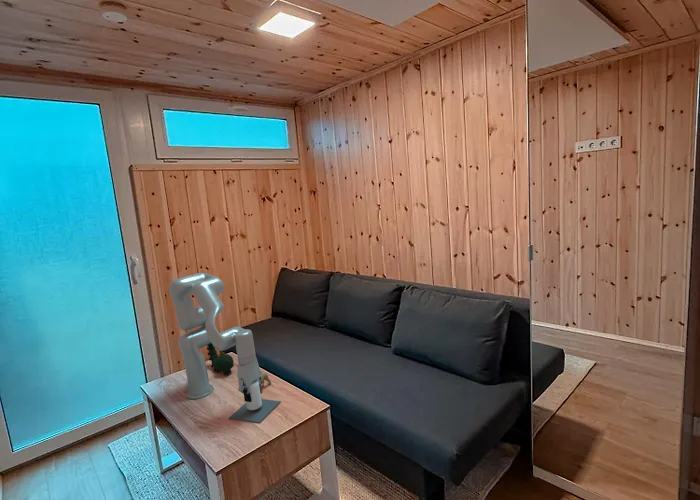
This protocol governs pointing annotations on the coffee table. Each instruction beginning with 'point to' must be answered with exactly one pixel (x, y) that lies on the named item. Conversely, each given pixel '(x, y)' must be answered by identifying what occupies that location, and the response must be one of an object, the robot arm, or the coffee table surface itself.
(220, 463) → the coffee table surface
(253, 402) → the can
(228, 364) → the toy figurine
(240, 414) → the mat
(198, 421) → the coffee table surface
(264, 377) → the lion figurine
